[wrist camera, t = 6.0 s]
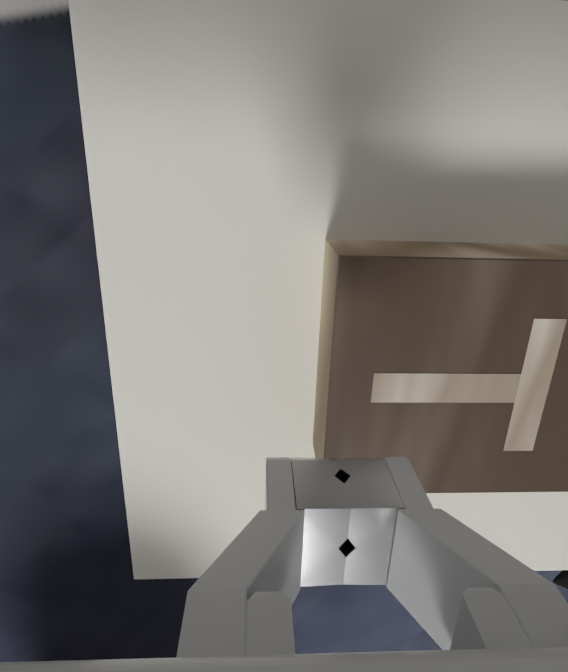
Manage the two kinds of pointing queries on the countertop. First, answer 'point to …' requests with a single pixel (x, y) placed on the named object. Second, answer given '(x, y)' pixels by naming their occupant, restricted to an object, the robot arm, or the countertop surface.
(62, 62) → the countertop surface
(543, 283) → the letter block
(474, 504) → the felt mat
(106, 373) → the countertop surface
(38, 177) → the countertop surface
